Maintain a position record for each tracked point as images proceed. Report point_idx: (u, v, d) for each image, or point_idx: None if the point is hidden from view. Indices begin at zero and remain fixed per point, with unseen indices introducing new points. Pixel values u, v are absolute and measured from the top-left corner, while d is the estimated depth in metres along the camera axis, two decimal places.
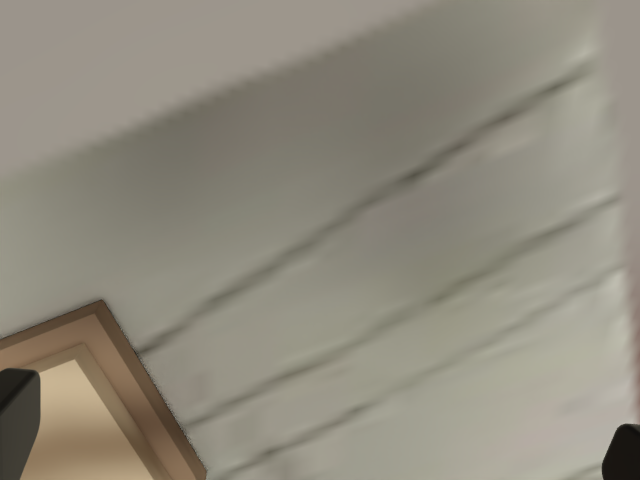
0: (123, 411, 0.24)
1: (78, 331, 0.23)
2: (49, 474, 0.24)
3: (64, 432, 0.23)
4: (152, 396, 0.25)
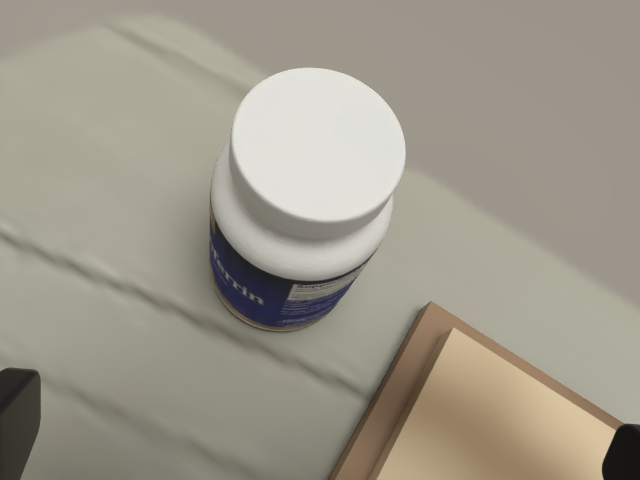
0: None
1: None
2: None
3: None
4: None
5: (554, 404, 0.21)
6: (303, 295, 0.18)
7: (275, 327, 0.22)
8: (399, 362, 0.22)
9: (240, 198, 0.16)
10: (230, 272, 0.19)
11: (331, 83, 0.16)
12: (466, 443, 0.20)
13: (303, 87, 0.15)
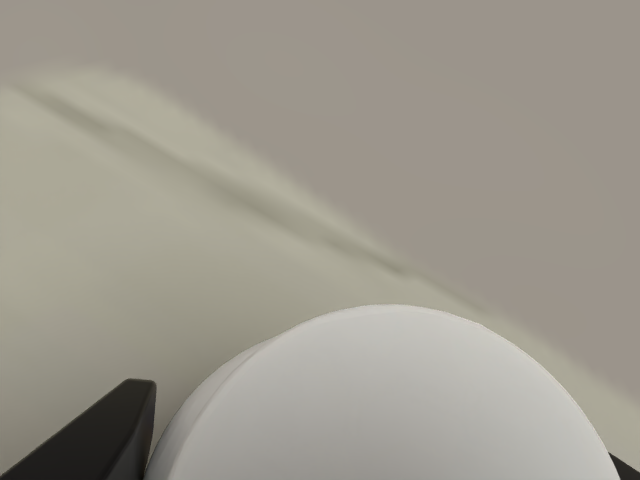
0: None
1: None
2: None
3: None
4: None
5: None
6: None
7: None
8: None
9: None
10: None
11: (431, 352, 0.06)
12: None
13: (360, 371, 0.06)
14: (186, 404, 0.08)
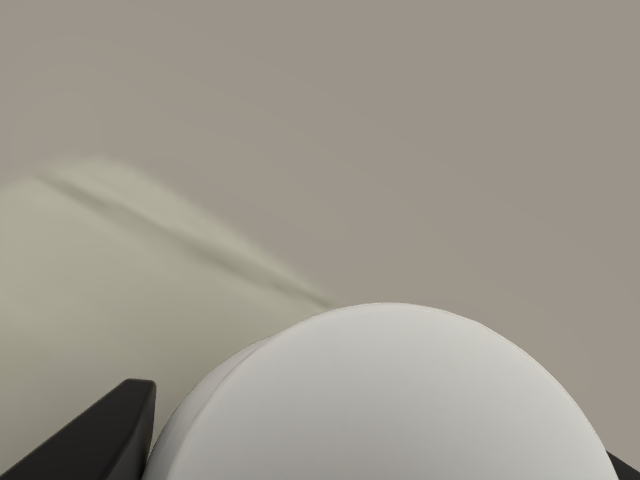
0: None
1: None
2: None
3: None
4: None
5: None
6: None
7: None
8: None
9: None
10: None
11: (430, 350, 0.06)
12: None
13: (359, 369, 0.06)
14: (185, 402, 0.08)
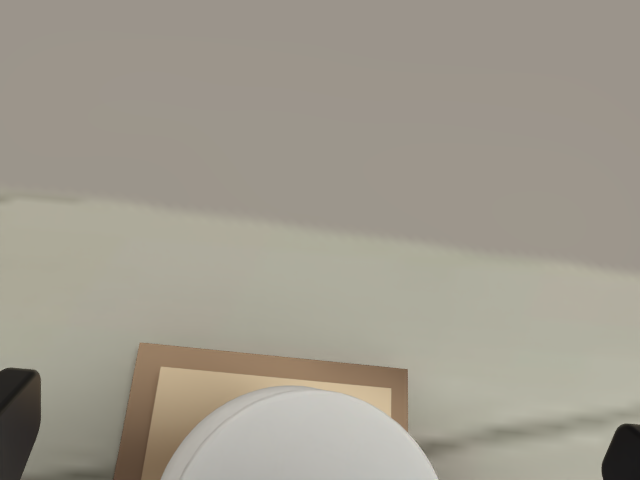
0: None
1: (383, 379, 0.22)
2: None
3: None
4: None
5: None
6: None
7: None
8: (124, 428, 0.19)
9: None
10: None
11: (329, 420, 0.10)
12: None
13: (284, 434, 0.09)
14: (182, 445, 0.12)
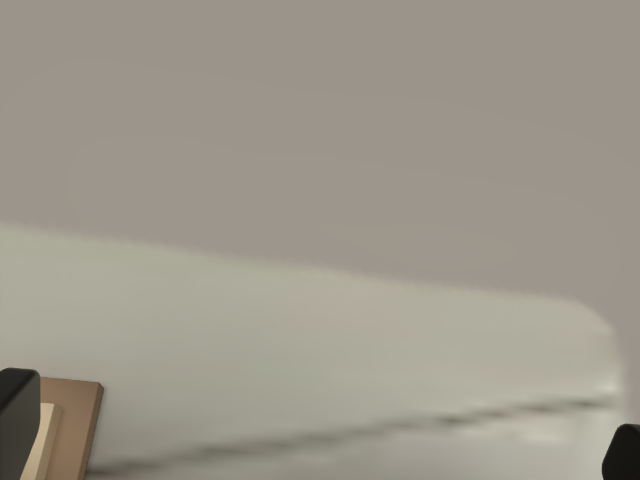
0: None
1: (67, 393, 0.20)
2: None
3: None
4: None
5: None
6: None
7: None
8: None
9: None
10: None
11: None
12: None
13: None
14: None
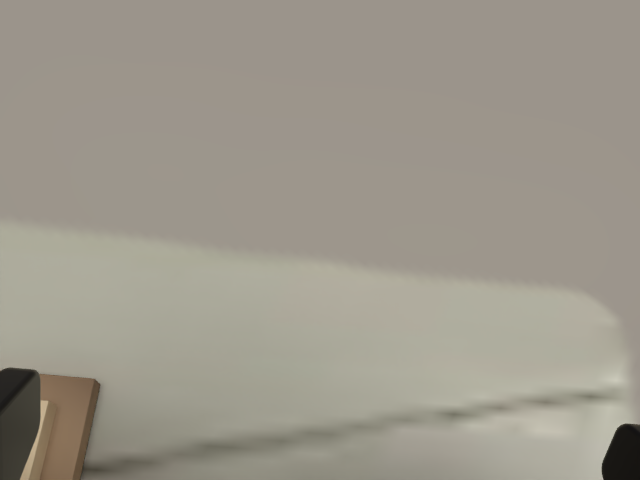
0: None
1: (62, 390, 0.20)
2: None
3: None
4: None
5: None
6: None
7: None
8: None
9: None
10: None
11: None
12: None
13: None
14: None
